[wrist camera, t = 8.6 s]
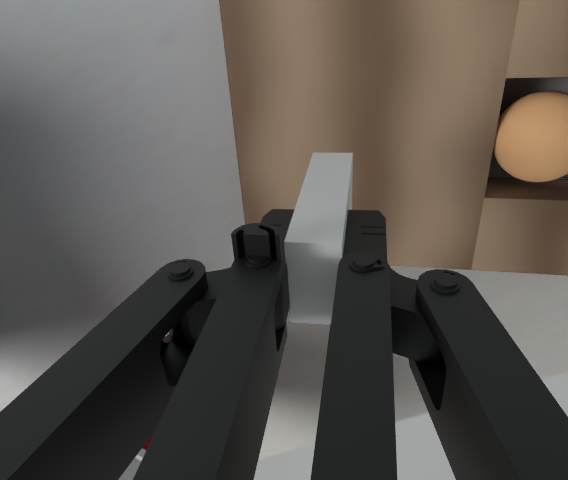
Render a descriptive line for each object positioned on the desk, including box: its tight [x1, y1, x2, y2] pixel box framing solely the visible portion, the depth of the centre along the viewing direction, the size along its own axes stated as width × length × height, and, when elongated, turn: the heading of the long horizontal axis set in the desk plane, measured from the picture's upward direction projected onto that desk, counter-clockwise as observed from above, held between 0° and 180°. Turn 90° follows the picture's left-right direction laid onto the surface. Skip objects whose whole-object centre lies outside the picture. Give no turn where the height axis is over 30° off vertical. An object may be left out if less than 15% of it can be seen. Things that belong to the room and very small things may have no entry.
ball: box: [493, 91, 568, 182], centre depth 21 cm, size 4×4×4 cm
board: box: [219, 0, 568, 275], centre depth 22 cm, size 20×14×2 cm
